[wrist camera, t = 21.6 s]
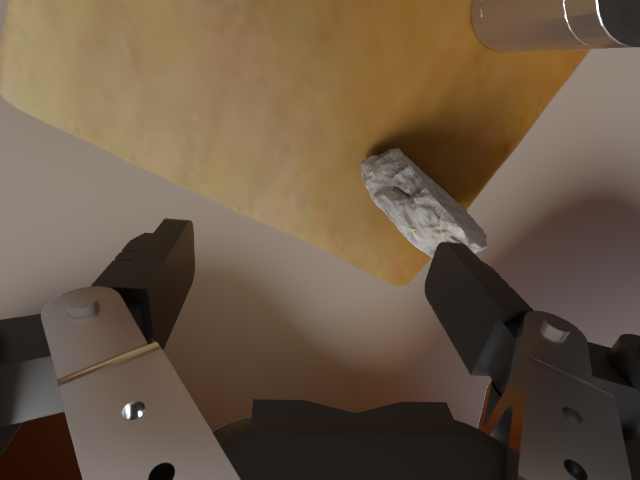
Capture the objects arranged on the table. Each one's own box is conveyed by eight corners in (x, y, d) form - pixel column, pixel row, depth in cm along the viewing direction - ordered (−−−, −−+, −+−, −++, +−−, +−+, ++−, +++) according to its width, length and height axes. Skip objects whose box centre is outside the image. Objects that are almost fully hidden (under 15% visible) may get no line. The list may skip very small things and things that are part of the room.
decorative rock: (463, 207, 48) (529, 264, 35) (427, 240, 50) (477, 305, 37) (385, 130, 42) (429, 163, 29) (348, 170, 44) (373, 218, 31)
